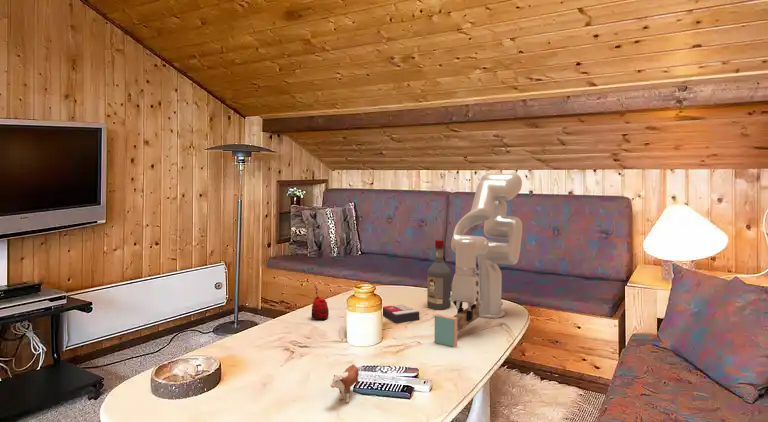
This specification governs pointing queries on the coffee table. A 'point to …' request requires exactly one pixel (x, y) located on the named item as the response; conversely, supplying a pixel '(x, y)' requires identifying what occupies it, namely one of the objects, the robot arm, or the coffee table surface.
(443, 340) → the tile
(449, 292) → the liquor
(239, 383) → the coffee table surface
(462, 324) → the stick
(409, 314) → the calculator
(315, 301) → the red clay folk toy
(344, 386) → the bull figurine
